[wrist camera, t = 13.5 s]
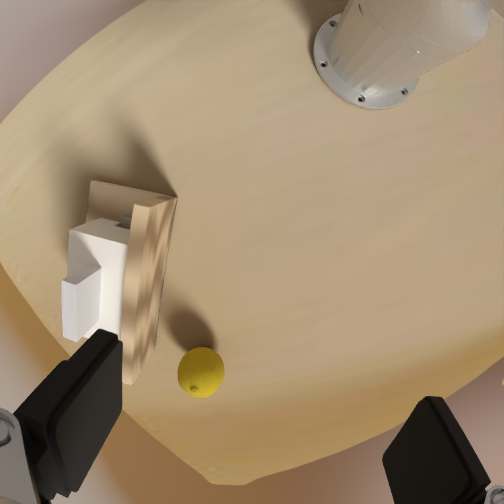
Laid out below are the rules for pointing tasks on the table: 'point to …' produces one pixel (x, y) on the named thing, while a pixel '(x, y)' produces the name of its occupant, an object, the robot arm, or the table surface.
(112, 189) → the cleat board
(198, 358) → the lemon
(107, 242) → the white stepped block
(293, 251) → the table surface
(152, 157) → the table surface
